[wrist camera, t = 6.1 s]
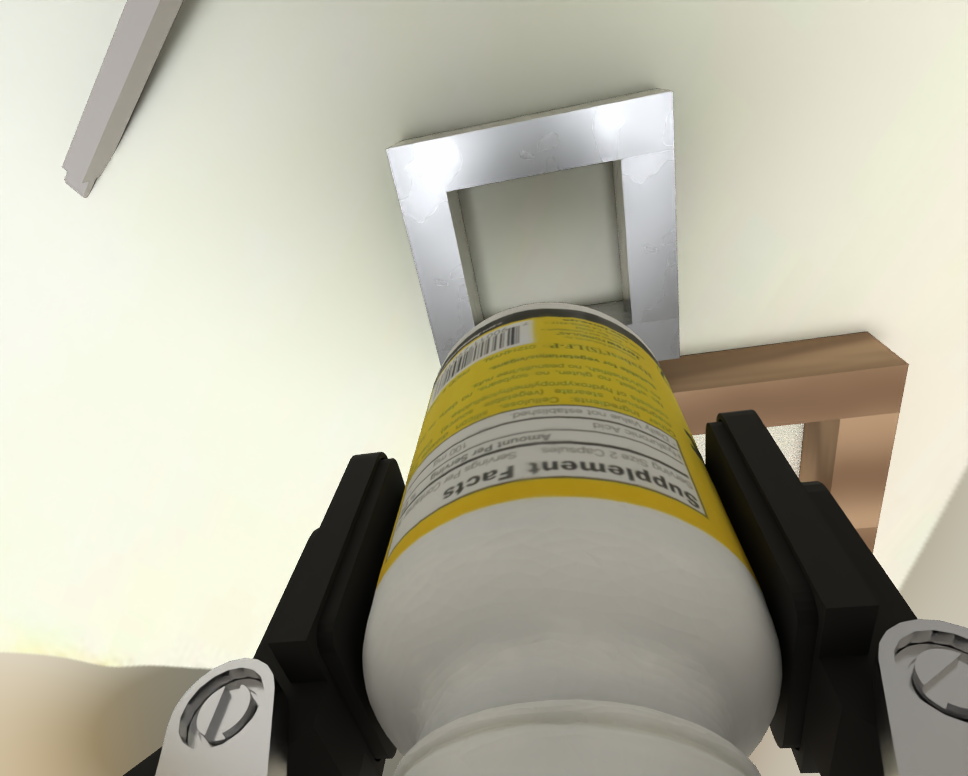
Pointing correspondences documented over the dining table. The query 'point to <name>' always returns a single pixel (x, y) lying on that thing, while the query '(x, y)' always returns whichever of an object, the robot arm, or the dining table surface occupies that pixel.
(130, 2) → the caliper
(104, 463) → the dining table surface
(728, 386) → the block
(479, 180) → the socket block
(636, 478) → the supplement bottle
